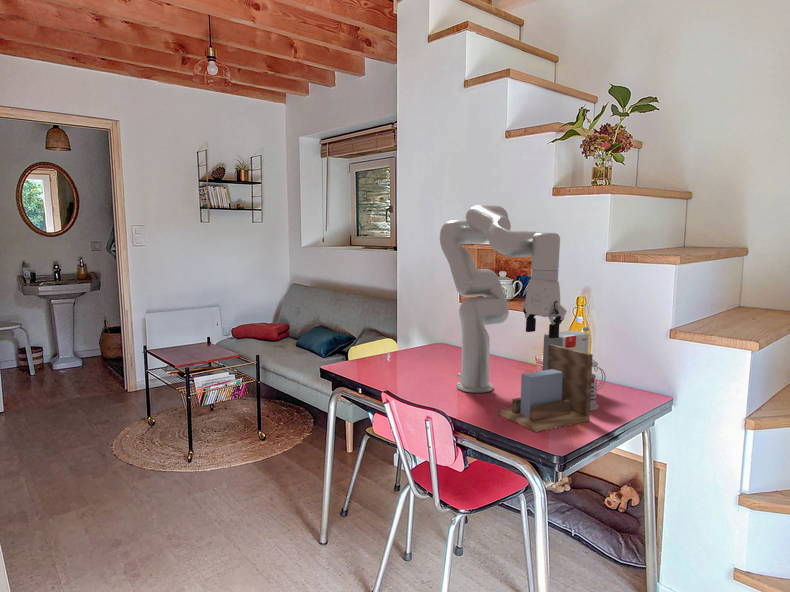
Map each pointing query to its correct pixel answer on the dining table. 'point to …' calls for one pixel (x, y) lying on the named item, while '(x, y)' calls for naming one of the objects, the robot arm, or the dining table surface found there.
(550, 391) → the book
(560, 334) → the hard drive box
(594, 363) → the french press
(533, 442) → the dining table surface
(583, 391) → the book rack
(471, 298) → the robot arm
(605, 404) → the dining table surface
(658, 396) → the dining table surface
